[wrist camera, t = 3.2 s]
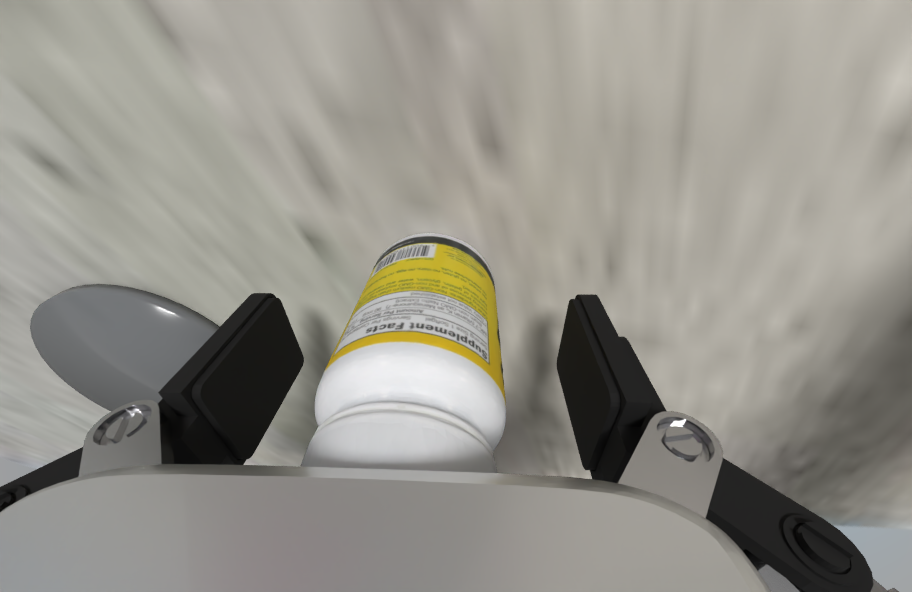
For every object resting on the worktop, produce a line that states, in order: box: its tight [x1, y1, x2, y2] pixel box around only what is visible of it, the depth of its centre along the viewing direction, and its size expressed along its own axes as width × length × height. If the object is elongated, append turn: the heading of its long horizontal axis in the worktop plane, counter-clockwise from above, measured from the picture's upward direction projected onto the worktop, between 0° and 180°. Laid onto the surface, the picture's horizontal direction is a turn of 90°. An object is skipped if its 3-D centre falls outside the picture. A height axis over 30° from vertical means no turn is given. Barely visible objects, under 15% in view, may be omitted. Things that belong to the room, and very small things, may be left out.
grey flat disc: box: [30, 284, 220, 411], centre depth 17 cm, size 10×10×1 cm
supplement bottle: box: [300, 233, 506, 473], centre depth 10 cm, size 5×5×8 cm
